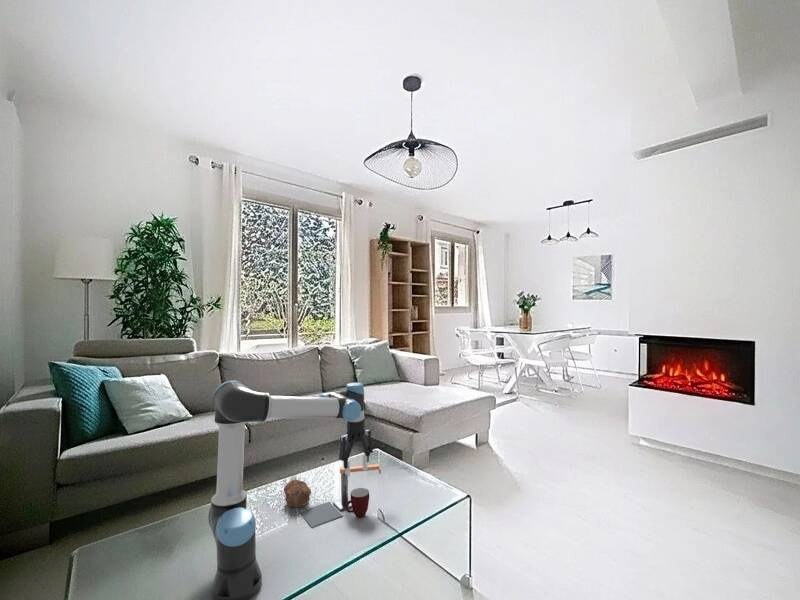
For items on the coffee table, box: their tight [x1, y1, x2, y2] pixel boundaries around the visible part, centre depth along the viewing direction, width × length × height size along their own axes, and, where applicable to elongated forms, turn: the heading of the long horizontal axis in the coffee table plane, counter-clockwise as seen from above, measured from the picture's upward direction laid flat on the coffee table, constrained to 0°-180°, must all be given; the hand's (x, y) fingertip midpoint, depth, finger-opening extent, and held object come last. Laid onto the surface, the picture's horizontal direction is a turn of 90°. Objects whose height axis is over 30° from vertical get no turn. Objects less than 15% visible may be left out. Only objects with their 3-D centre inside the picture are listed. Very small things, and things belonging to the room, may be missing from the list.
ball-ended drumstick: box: [339, 463, 382, 475], centre depth 177 cm, size 4×19×4 cm, turn 101°
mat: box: [299, 501, 343, 529], centre depth 168 cm, size 14×14×1 cm
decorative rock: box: [283, 478, 312, 508], centre depth 177 cm, size 13×11×10 cm
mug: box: [345, 487, 370, 519], centre depth 166 cm, size 10×8×10 cm
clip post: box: [332, 473, 352, 512], centre depth 175 cm, size 8×8×14 cm
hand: (356, 472), depth 165 cm, fingers open, 8 cm apart
